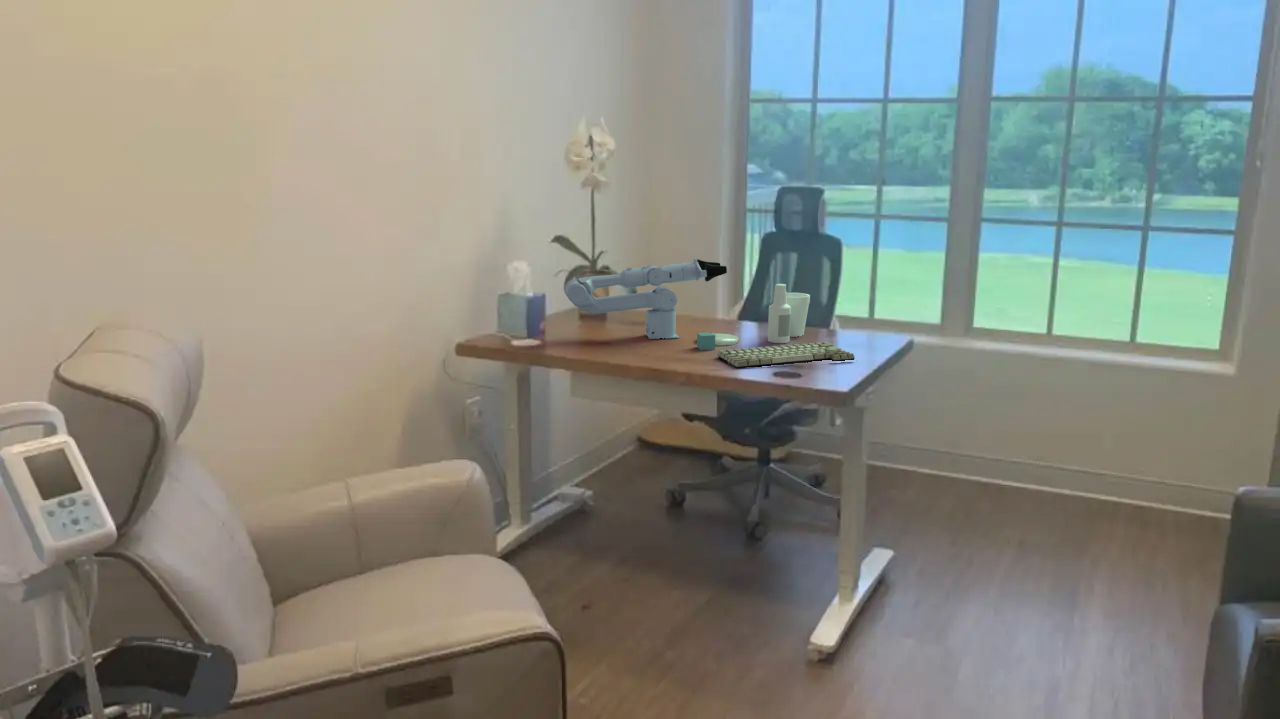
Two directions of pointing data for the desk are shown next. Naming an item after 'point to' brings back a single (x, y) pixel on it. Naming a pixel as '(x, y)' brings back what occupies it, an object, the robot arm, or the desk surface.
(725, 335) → the dish
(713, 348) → the teal block
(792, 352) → the mechanical keyboard
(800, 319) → the foam cup
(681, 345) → the desk surface
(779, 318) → the spray bottle
